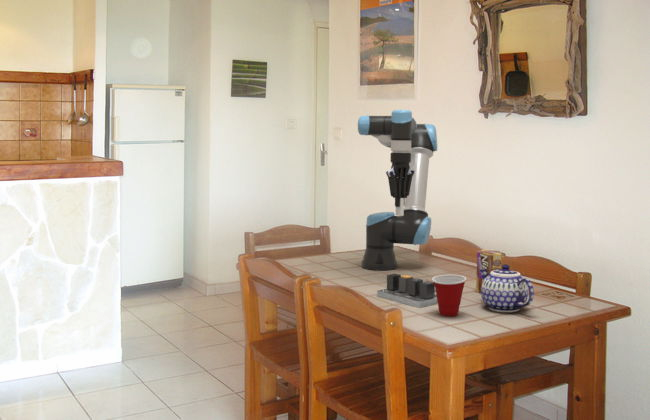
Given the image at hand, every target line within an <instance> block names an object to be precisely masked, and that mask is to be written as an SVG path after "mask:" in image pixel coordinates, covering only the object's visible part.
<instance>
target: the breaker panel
mask: <svg viewBox="0 0 650 420" xmlns="http://www.w3.org/2000/svg"><path fill="white" fill-rule="evenodd" d="M401 276H402V275H401V274H397V273H391V274H390V273H389V274H387V275H386V288H384V289H380V290H377V291H376V296H377V297H378V298H382V299H386V300H389V301H394V302H397V303H401V304H405V305H408V306H412V307H416V308H419V309H420V308H425V307H428V306H433V305H434V306H435V305H438V302H437V295H436V288H435V285H434V282H433V281H429V280H428V281H427V280H426V281H424V279H420V278H413V279H412V280H409V291H408V292H407V293H404V292H400V291H399V277H401Z"/></svg>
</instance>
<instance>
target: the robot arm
mask: <svg viewBox="0 0 650 420" xmlns="http://www.w3.org/2000/svg"><path fill="white" fill-rule="evenodd" d="M412 115H413V112H412V110H410V109H393V110H392V111H391V115H368V114H366V115H361V116H359V118H358V121H357V132H358V134H359V135H360V136H372V137H373V138H375V139H377V140H378V142H379V143H380V144H381V145H383V146H384V147H387V148H389V149H390V151H391V153H390V160H389V161H390V162H391V167H390V170H387V171H386V172H385V174H386V176H387V179H388V181H387V182H388V186H389V187H388V188H389V193H390V196H391V197H392V198H394V207H395V212H394V211H382V212H374V213H372V214H369V215H368V216H366V225H365V227H366V228H365V230H366V231H365V233H366V234H365V236H366V237H365V240H366V241H365V243H366V244H365V245H366V246H365V251H364V254H363V258H362V260H361V268H363V269H365V270H373V271H391V270H396V269H398V260H397V257H396V253H395V248H394V244H397V245H398V244H399V245H413V246H417V245H420V246H421V245H422V246H423V245H425V244H426V243H428V240H429V238H430V234H431V230H432V229H431V228H432V218H431V217H430V216H429V213H428V211H427V210H426V200H427V189H428V188H427V187H428V180H429V179H428V176H429V166H430V159H431V158H432V157H433V156H434V152H437V151H438V137H437V129H436V127H435V125H434V124H432V123H431V124H430V123H429V124H428V123H417V121H416V119H415V118H414V117H412Z"/></svg>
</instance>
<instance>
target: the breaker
mask: <svg viewBox="0 0 650 420" xmlns="http://www.w3.org/2000/svg"><path fill="white" fill-rule="evenodd" d="M412 279H414V276H411V275H407V274H406V275H401V277H399V291H400V292H404V293H407V292H408V291H409V280H412Z"/></svg>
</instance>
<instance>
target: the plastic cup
mask: <svg viewBox="0 0 650 420" xmlns="http://www.w3.org/2000/svg"><path fill="white" fill-rule="evenodd" d="M431 280H432V281H431V282H434V285H435V288H436V295H437V302H438V304H437V305H438V313H439V315H441V316H443V317H456V316H458V314H459V312H460V305H461V303H462V297H463V292H464V291H463V290H464V288H465V287H464V286H465V283H466V281H467V277H466V276H464V275H460V274H439V275H436V276H435V275H434V276H433V277H432V278H431Z"/></svg>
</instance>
